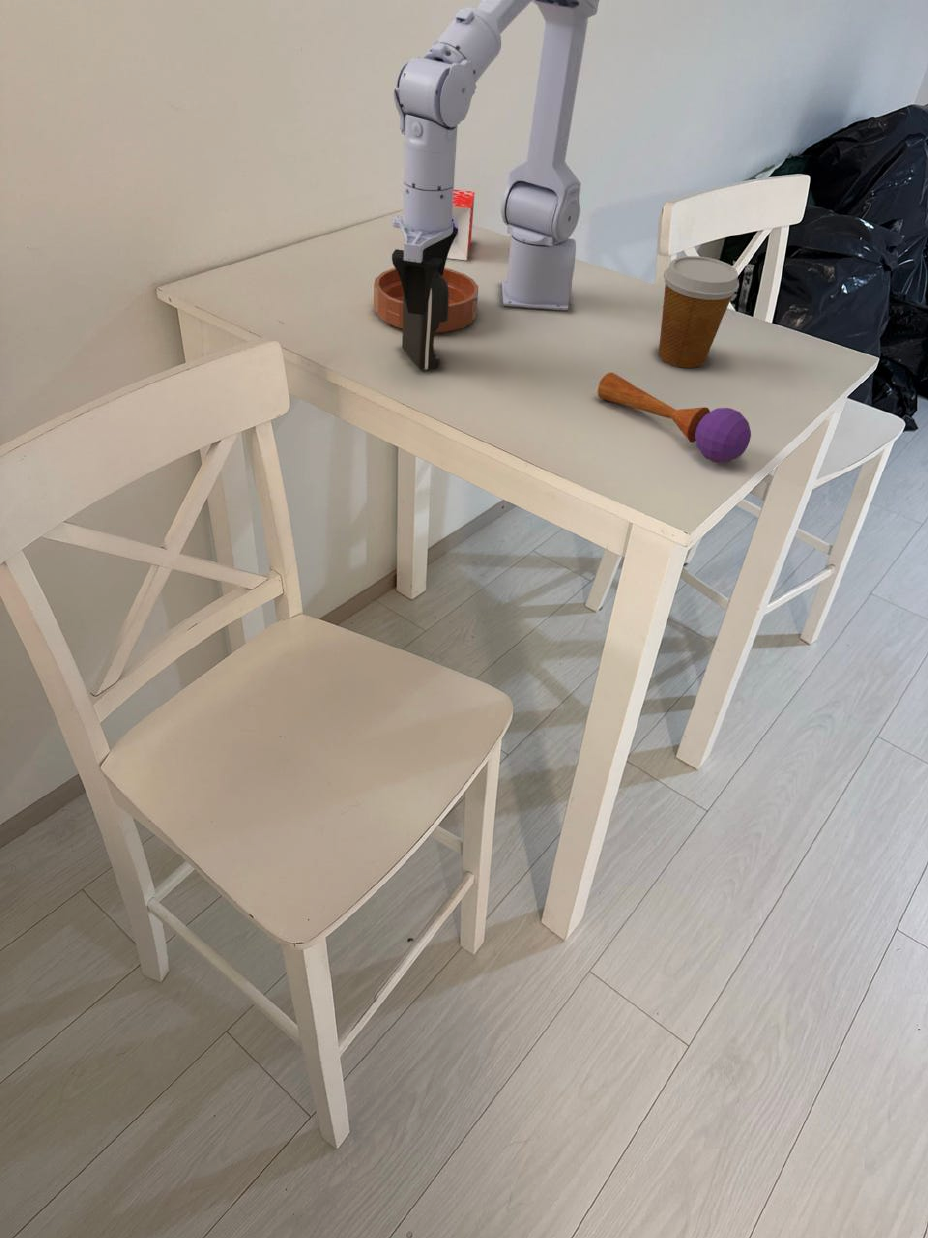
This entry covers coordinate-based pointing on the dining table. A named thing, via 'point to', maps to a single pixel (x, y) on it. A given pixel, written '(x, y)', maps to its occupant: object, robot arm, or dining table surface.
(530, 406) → the dining table surface
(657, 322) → the dining table surface
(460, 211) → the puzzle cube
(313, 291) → the dining table surface
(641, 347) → the dining table surface
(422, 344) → the battery charger
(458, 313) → the bowl
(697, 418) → the kendama
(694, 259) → the disposable coffee cup
